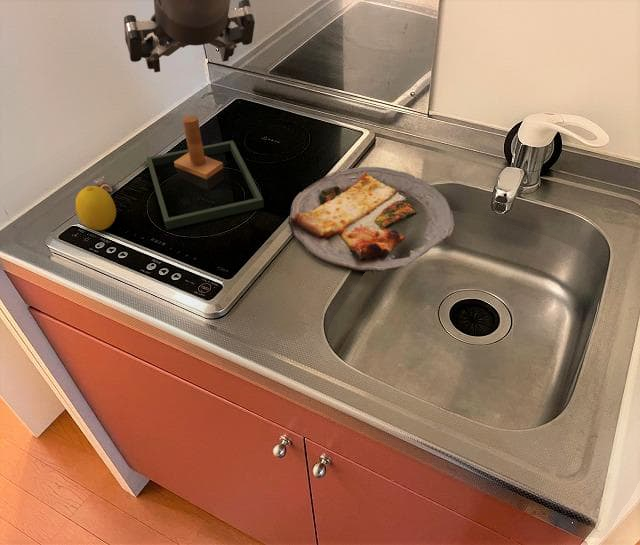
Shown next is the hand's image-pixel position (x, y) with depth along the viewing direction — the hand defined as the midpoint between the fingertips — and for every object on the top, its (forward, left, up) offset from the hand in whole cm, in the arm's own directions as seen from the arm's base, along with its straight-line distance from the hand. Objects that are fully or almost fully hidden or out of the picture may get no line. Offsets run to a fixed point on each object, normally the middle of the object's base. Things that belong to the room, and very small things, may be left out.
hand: (189, 59), depth 71 cm
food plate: (+22, -8, -27) cm, 36 cm away
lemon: (-17, +6, -27) cm, 32 cm away
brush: (0, +13, -26) cm, 29 cm away
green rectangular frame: (0, +11, -26) cm, 28 cm away
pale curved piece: (-16, +15, -27) cm, 34 cm away
